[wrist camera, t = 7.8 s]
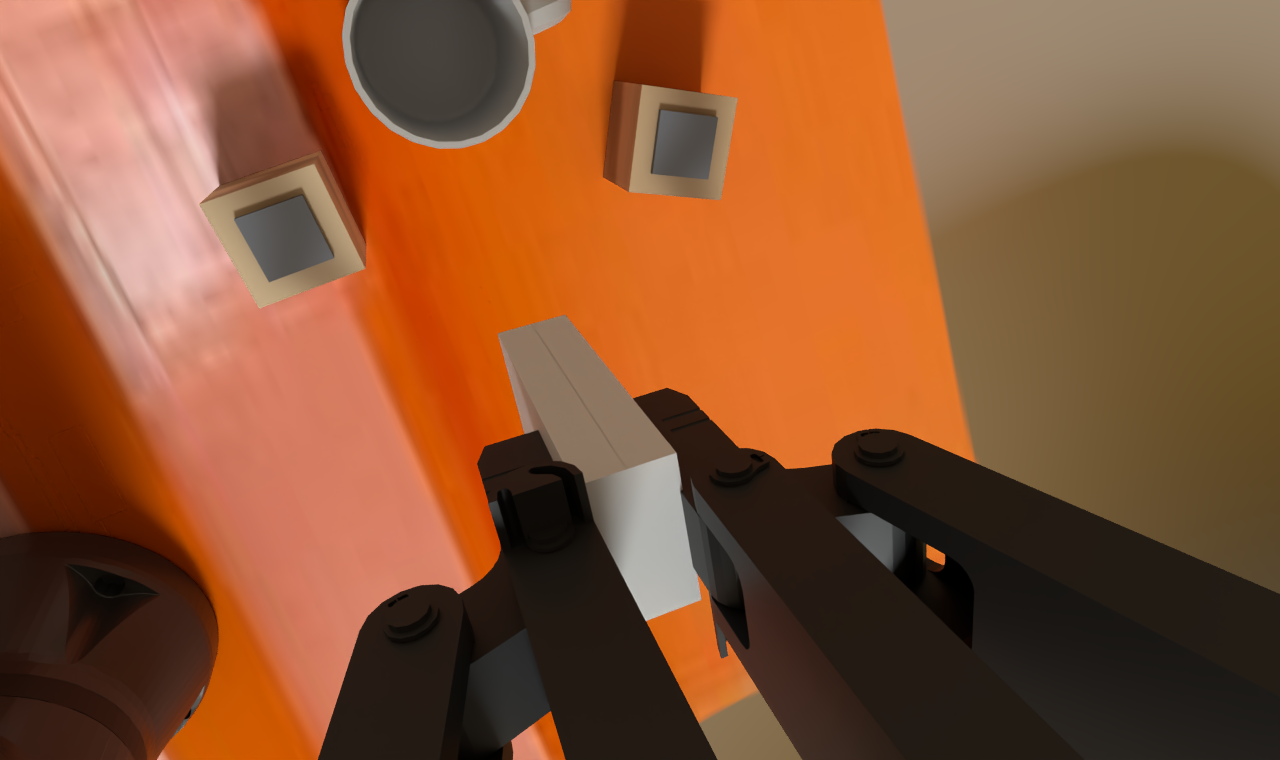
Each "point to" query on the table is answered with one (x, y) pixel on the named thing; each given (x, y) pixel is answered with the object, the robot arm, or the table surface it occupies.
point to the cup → (445, 63)
